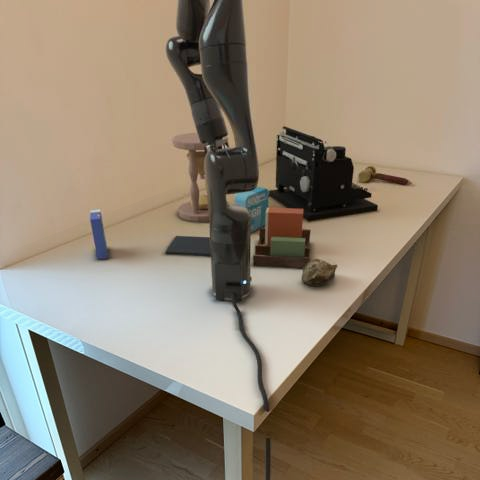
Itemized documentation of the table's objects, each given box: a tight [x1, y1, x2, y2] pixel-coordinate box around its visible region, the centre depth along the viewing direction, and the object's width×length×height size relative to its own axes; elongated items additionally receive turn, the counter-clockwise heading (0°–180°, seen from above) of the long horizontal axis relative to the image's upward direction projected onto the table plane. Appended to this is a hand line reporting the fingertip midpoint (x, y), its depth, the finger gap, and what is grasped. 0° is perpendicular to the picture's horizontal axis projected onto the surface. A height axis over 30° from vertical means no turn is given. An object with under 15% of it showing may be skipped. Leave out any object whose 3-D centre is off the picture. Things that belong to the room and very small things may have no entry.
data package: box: [233, 186, 270, 233], centre depth 145 cm, size 12×4×12 cm, turn 142°
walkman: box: [89, 209, 109, 260], centre depth 129 cm, size 8×3×12 cm, turn 14°
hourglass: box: [172, 132, 229, 223], centre depth 154 cm, size 18×18×25 cm
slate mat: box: [164, 235, 211, 257], centre depth 136 cm, size 12×20×1 cm, turn 82°
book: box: [264, 207, 304, 245], centre depth 130 cm, size 4×10×12 cm, turn 82°
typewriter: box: [268, 125, 379, 223], centre depth 163 cm, size 31×27×25 cm
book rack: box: [252, 227, 311, 269], centre depth 130 cm, size 17×15×4 cm
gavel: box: [357, 165, 413, 186], centre depth 191 cm, size 21×5×10 cm
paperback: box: [270, 237, 306, 257], centre depth 124 cm, size 2×9×7 cm, turn 82°
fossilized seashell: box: [301, 258, 338, 287], centre depth 116 cm, size 8×7×10 cm
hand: (228, 184), depth 123 cm, fingers open, 8 cm apart
